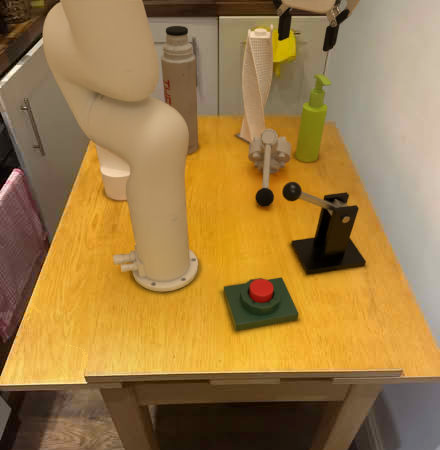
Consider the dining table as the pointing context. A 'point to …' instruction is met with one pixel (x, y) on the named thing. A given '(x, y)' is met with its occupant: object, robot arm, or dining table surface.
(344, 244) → the bracket
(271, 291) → the button
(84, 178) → the dining table surface
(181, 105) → the thermos bottle
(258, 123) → the skyscraper
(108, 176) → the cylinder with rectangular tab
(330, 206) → the lever
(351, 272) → the dining table surface
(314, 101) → the soap dispenser
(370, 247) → the dining table surface
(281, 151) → the mechanical valve
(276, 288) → the button box
